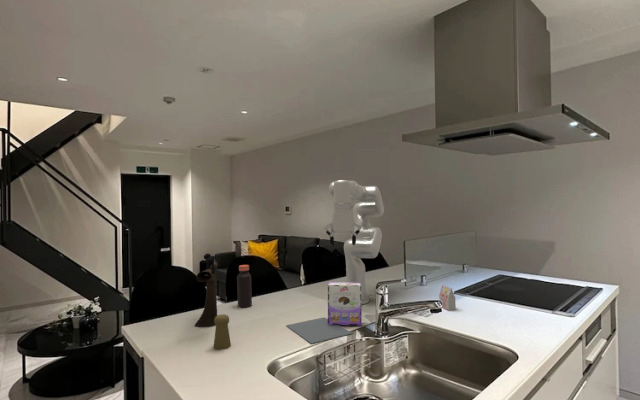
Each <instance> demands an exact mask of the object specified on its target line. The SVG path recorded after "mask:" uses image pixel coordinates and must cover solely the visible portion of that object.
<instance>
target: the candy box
mask: <svg viewBox="0 0 640 400" xmlns="http://www.w3.org/2000/svg"><path fill="white" fill-rule="evenodd" d="M327 319H328V325H339V326H362V304H361V283H347V282H343V281H342V282H339V281H337V282H335V281H334V282H333V281H328V284H327Z"/></svg>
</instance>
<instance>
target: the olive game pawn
mask: <svg viewBox="0 0 640 400" xmlns="http://www.w3.org/2000/svg"><path fill="white" fill-rule="evenodd" d="M229 322H230V317H229V315H227V314H217V316H216V317H215V319H214V323H215V325H214V326H215V331H214V341H213V349H214V350H217V351H218V350H219V351H220V350H227V349H229V348H230V347H231V346H232V343H231V336H230V331H229V325H228V324H229Z"/></svg>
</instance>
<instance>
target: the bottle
mask: <svg viewBox="0 0 640 400" xmlns="http://www.w3.org/2000/svg"><path fill="white" fill-rule="evenodd" d="M238 271H239V273H238V275H237V276H236V286H237V288H236V289H237V307H238V308H242V309H244V308H249V307H251V306H253V301H252V298H253V297H252V296H253V295H252V275H251V274H250V272H249V271H250V265H249V264H242V265H241V264H240V265H239V266H238Z"/></svg>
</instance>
